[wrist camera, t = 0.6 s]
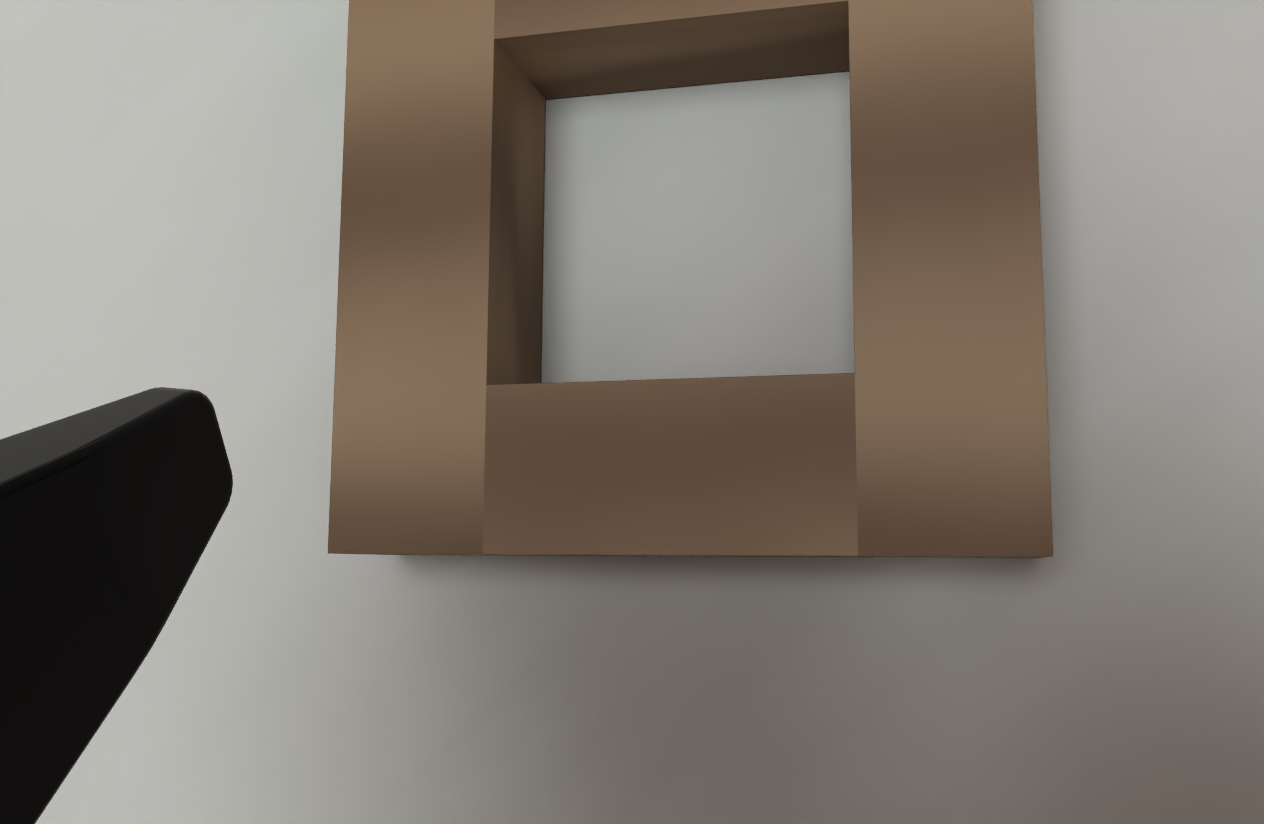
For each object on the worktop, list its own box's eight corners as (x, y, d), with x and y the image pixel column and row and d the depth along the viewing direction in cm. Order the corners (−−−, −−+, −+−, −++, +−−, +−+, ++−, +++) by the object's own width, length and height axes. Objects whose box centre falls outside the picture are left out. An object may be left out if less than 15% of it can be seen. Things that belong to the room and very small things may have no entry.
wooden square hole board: (1038, 558, 22) (1053, 556, 19) (399, 555, 25) (327, 553, 22) (1014, -94, 23) (1024, -187, 20) (417, -20, 26) (352, -92, 23)
